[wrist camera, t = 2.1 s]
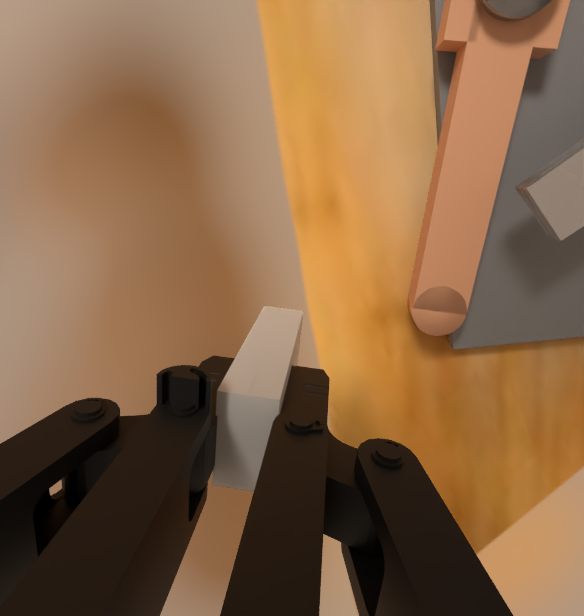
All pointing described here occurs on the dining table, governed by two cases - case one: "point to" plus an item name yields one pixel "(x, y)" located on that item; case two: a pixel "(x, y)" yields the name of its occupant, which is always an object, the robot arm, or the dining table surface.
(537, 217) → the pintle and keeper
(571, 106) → the board
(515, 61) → the link
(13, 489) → the robot arm
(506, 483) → the dining table surface
